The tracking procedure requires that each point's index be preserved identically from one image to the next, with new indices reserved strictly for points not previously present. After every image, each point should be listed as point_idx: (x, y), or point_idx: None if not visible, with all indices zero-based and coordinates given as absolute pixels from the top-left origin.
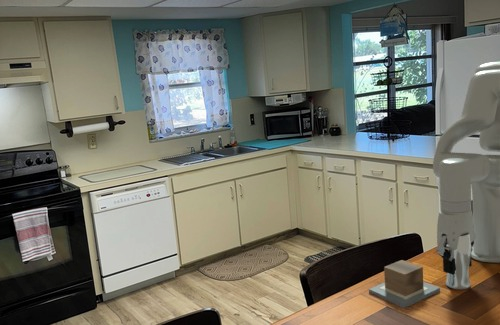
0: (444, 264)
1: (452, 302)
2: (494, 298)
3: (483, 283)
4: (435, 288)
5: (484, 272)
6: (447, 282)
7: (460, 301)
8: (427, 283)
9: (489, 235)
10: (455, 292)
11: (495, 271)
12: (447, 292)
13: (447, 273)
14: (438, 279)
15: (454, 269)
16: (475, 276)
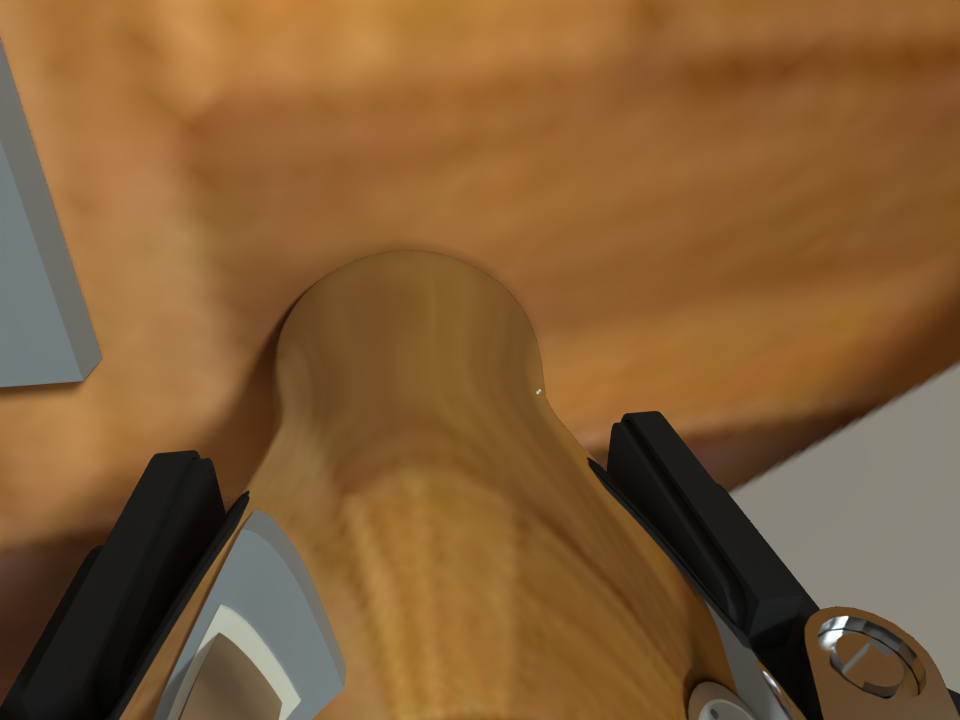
0: (49, 636)
1: (45, 573)
2: None
3: None
4: (11, 364)
5: (870, 331)
6: (281, 347)
7: None
8: (6, 187)
9: None
10: (243, 460)
11: (937, 376)
12: (166, 418)
13: (292, 390)
14: (362, 108)
15: None
16: (729, 338)
